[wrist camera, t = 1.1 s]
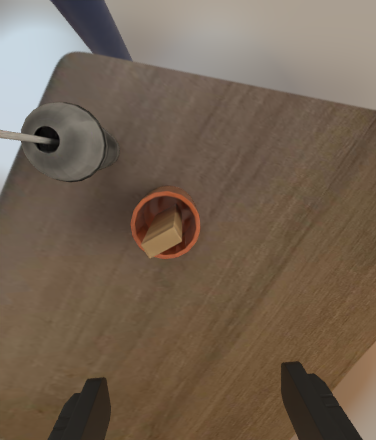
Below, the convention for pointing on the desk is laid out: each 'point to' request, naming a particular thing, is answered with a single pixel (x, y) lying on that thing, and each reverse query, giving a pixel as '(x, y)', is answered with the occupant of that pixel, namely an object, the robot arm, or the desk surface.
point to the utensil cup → (160, 202)
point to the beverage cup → (65, 142)
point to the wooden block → (163, 231)
